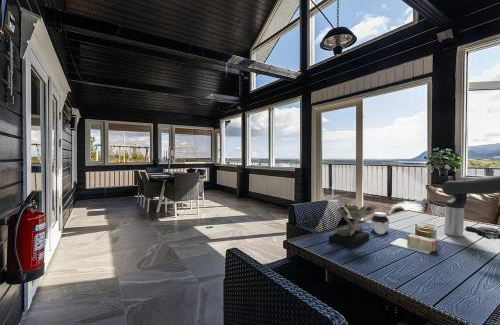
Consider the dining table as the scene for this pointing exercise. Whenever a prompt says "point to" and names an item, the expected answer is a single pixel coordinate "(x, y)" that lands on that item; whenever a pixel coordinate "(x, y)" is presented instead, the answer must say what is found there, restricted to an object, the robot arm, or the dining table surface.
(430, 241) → the maple block
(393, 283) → the dining table surface
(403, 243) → the sage board
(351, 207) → the coral
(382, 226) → the spread jar
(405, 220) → the dining table surface
